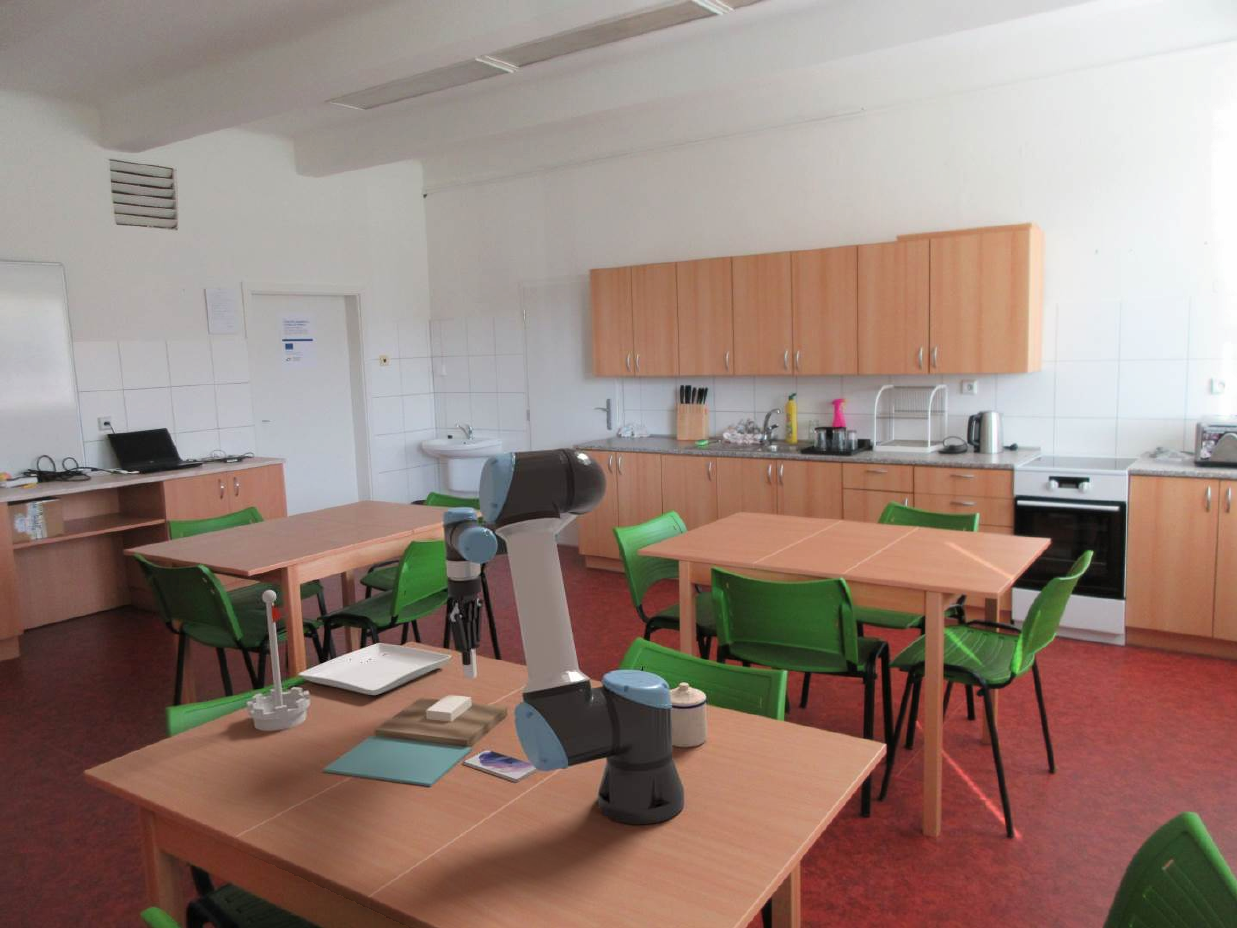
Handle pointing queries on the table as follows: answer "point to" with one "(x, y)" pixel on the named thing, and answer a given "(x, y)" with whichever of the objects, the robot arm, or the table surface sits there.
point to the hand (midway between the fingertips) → (470, 676)
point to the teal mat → (399, 760)
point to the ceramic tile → (448, 708)
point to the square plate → (375, 668)
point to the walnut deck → (442, 724)
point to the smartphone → (501, 765)
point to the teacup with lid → (688, 716)
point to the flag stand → (277, 687)
